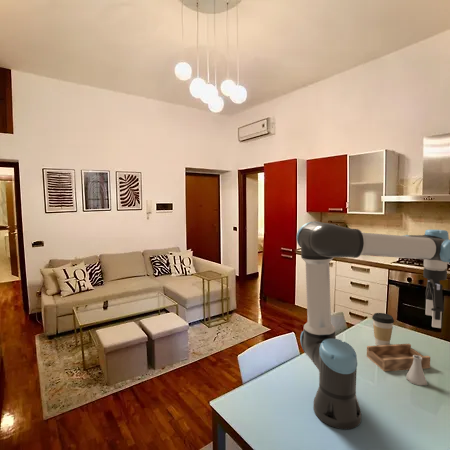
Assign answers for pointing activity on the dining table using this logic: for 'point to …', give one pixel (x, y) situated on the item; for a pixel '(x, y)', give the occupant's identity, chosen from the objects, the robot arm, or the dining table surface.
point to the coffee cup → (382, 328)
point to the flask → (416, 372)
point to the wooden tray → (395, 357)
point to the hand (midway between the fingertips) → (432, 321)
